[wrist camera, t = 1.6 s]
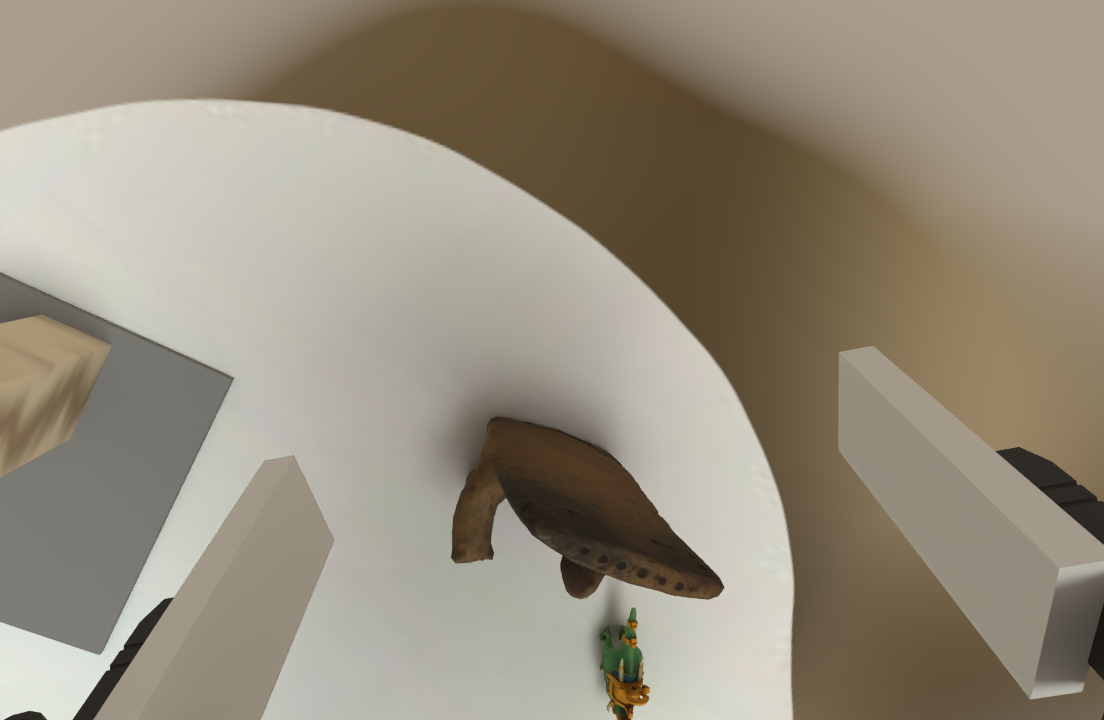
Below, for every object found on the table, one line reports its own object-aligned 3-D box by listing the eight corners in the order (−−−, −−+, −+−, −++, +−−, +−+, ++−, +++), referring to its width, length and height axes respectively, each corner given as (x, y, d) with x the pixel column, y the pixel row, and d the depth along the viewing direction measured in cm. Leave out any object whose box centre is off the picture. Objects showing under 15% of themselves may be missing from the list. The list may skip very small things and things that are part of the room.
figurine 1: (441, 496, 48) (439, 663, 28) (470, 402, 47) (489, 506, 27) (601, 534, 50) (702, 710, 31) (631, 446, 50) (754, 569, 30)
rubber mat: (102, 651, 47) (99, 655, 47) (-196, 550, 43) (-202, 554, 42) (233, 378, 44) (231, 379, 43) (-74, 239, 39) (-79, 239, 39)
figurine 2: (592, 697, 54) (613, 780, 46) (600, 573, 51) (625, 637, 43) (626, 696, 54) (653, 777, 46) (637, 572, 52) (667, 635, 44)
